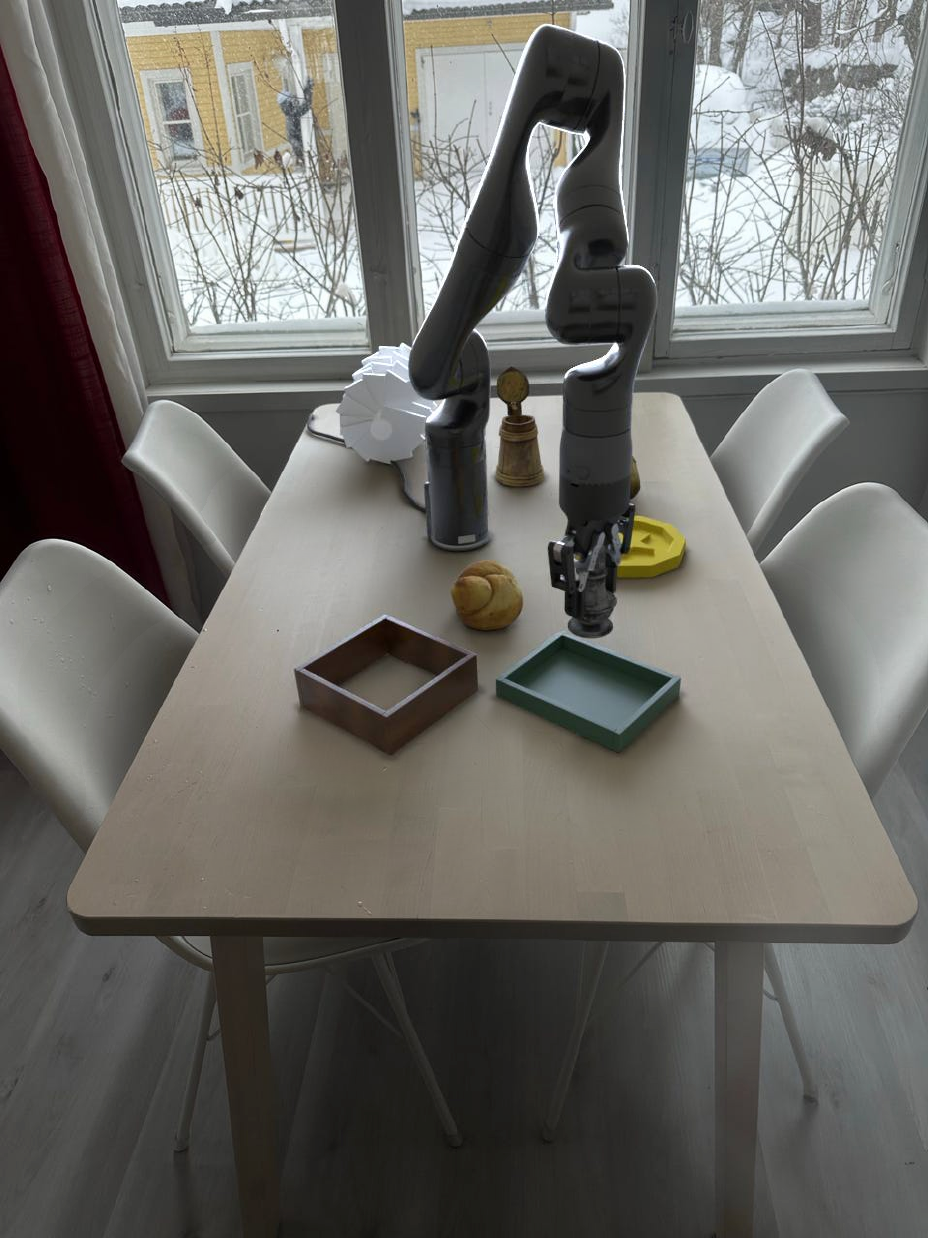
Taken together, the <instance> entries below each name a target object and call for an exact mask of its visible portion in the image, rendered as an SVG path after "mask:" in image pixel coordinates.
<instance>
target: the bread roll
mask: <svg viewBox="0 0 928 1238" xmlns="http://www.w3.org/2000/svg"><path fill="white" fill-rule="evenodd" d="M450 596H451V600H452V603H453V605H454V607H455V611H456V614H457V617H458V618H459V620H461V622H462V623H463V624H464V625H465V626H468V627H470V628H473V629H475V630H478V631H479V630H480V631H482V630H483V631H491V630H499V629H503V628H505V627H508V626H510V625H511V624H513V623H514V621H515V620H516V619H518V618H519V616H520V615H521V613H522V610H523V608H524V607H523V606H524V597H523V594H522V590H521V589H520V587H519V585H518V582H517V580H516V577H515V575H514V574H513V573H512V571H511V570H510V569H509V568H508V567H507V566H504V565H502V563H499V562H498V561H496V560H491V559H490V560H481V561H476V562H473V563H470V564H468V565H467V566H465V568H464V569H463V570H461V572H460V573H459V575H458V576H457V578H456V580H455V581H454V583H453V584H452V586H451V588H450Z"/></svg>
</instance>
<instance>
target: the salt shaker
mask: <svg viewBox="0 0 928 1238" xmlns="http://www.w3.org/2000/svg"><path fill="white" fill-rule="evenodd" d="M605 557H606V548H605V546H604V545H603V546H602V547H601V548H600V549H599V552H598V556H597V560H596V563H595V567H594V570H593V571H591V572H589V574H588V577H587V581H586V584H585V588H584V589H585V615H584V616H583V617H582V618H581V619H576V618H574V617H571V618H570V619H568V622H567V630H568V631H569V632H570V634H571V635H573V636H576V637H578V638H581V639H600V638H603V637H606V636H607V635H609V634H611V632H613V629H614V623H613V621H612V620H611V619H610V617H611V616H612V614H613V612H614V610H615V607H616V606H617V604H618V598H617V596H616V595H615V593H614V594H613V593H612V592H610V591H608V590H606V589H605V576H606V575H607V574H608V569H607V567H605ZM586 560H587V559H586V558H583V557H579V561H581V562H584V563H585V562H586ZM579 572H580V571H579V569H577V568H575V574H576V575H577V577H578V576H579Z"/></svg>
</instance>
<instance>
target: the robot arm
mask: <svg viewBox="0 0 928 1238" xmlns="http://www.w3.org/2000/svg"><path fill="white" fill-rule="evenodd" d="M625 91H626V75H625V66H624V61H623V57H622V55H621V53H620V52H619V50H618V49H617V48H616V47H615V46H613V45H611V44H609V43H608V42H606V41H603V40H600V39H597V38H594V37H591V36H588V35H585V34H582V33H580V32H576V31H574V30H571V29H569V28H568V29H567V28H565V27H561V26H559V25H554V24H550V23H549V24H548V23H543V24H541V25H540V26H538V27H537V28H536V29H535V30H534V31H533V33H532V34H531V35H530V37H529V39H528V41H527V43H526V44H525V47H524V49H523V52H522V54H521V57H520V60H519V63H518V66H517V70H516V72H515V75H514V79H513V82H512V86H511V88H510V91H509V94H508V98H507V102H506V105H505V109H504V111H503V115H502V118H501V122H500V124H499V128H498V131H497V135H496V138H495V142H494V145H493V148H492V151H491V153H490V157H489V160H488V163H487V165H486V167H485V170H484V172H483V175H482V178H481V181H480V183H479V186H478V188H477V190H476V193H475V196H474V198H473V199H472V203H471V205H470V208H469V210H468V213H467V214H466V217H465V220H464V223H463V225H462V227H461V231H460V234H459V235H458V238H457V242H456V245H455V248H454V252H453V255H452V257H451V259H450V262H449V264H448V267H447V269H446V272H445V274H444V277H443V280H442V282H441V284H440V287H439V289H438V292H437V294H436V297H435V299H434V302H433V303H432V306H431V308H430V310H429V312H428V314H427V316H426V317H425V319H424V321H423V323H422V326H421V327H420V329H419V331H418V333H417V334H416V336H415V339H414V341H413V343H412V346H411V347H410V348H411V351H410V355H409V361H408V373H409V379H410V383H411V385H412V387H413V389H414V391H415V392H416V393H417V394H418V395H419V396H420V397H422V398H424V399H427V400H432V401H433V400H434V401H442V402H441V404H440V405H439V406H438V407H437V409H435V411H433V412H434V413H433V414H432V415H430V416H429V418H428V419H427V420H426V423H425V433H424V438H425V440H424V441H425V455H426V468H427V481H426V482H424V484H423V492H424V493H423V494H424V506H423V505H421V504H419V503H418V502H417V501H416V500H415V499H414V498H413V497H412V496H411V495H410V493H409V492H408V481H407V477H406V475H405V472H404V470H403V469H402V467H401V465H399V463H398V462H397V461H392V460H391V461H390V462H391V463H392V464H391V465H393V467H394V468H395V469H396V470H397V472H398V473H399V475H400V477H401V480H402V492H403V496H404V498H405V499H406V500H407V501H408V503H410V504H411V505H412V506H413V507H415V508H416V509H418V510H420V511H422V512H424V513H425V520H426V521H425V523H426V536H427V539H430V540H431V542H432V544H433V545H434V546H436V547H437V548H439V549H442V550H444V551H449V552H466V551H467V552H468V551H472V550H476V549H478V548H481V547H483V546H485V545H486V544H487V543H488V542H489V540H490V537H491V536H490V529H489V528H490V527H489V495H488V492H489V491H488V464H487V461H488V460H487V440H486V439H487V436H486V433H487V432H486V429H487V425H488V422H489V420H490V415H491V379H492V374H491V373H492V369H491V368H492V367H491V359H490V358H491V357H490V353H489V350H488V346H487V343H486V341H485V339H484V337H483V336H482V334H481V333H479V331H478V330H477V329H476V328H477V327H478V326H479V325H480V323H481V322H483V320H484V319H485V318H486V317H487V316H488V315H489V314H490V313H491V312H492V311H493V310H494V309H495V308H496V307H497V306H498V305H499V304H500V303H501V302H502V300H504V298H506V296H507V295H508V294H509V293H510V292H511V290H512V289H513V288H514V287H515V285H516V284H517V282H518V281H519V279H520V278H521V276H522V274H523V272H524V269H525V268H526V265H527V263H528V261H529V259H530V257H531V254H532V253H533V250H534V248H535V245H536V243H537V240H538V236H539V232H540V231H539V230H540V222H539V213H538V206H537V202H536V197H535V193H534V188H533V183H532V177H531V173H530V163H529V161H530V160H529V149H530V148H529V147H530V143H531V140H532V136H533V134H534V131H535V129H536V127H537V126H538V125H539V124H541V125H544V126H547V127H550V128H553V129H557V130H560V131H564V132H566V133H567V132H568V133H570V134H575V135H581V136H583V138H584V140H585V145H584V146H583V148H582V149H581V150H580V151H579V153H578V154H577V155H576V156H575V157H574V158H573V159H572V161H571V162H570V163H569V164H568V165H567V166H566V167H565V169H564V171H563V172H562V174H561V176H560V177H559V180H558V181H557V182H558V183H557V184H556V188H555V191H554V197H553V217H554V229H555V237H556V238H555V239H556V257H555V265H554V268H553V272H552V275H551V278H550V282H549V286H548V289H547V292H546V297H545V303H544V320H545V324H546V327H547V330H548V331H549V334H550V335H551V336H552V337H553V338H554V339H555V340H556V341H557V342H559V343H560V344H562V345H565V346H586V345H588V346H589V345H607V344H608V345H609V344H613V345H612V347H611V348H610V350H609V351H608V352H607V354H606V355H604V356H603V357H600V358H599V359H596V360H593V361H589V362H586V363H583V364H580V365H577V366H575V367H573V368H570V369H569V370H568V371H567V372H566V373H565V374H564V378H563V383H562V419H561V420H562V426H561V435H560V441H559V454H558V455H559V460H558V462H559V467H558V474H559V475H558V505H559V508H560V510H561V512H563V514H564V515H565V517H566V518H567V523H566V528H565V530H564V537H563V538H561V539H560V541H555V540H550V541H549V542H548V544H547V556H548V565H549V567H548V568H549V575H550V586H551V587H552V588H554V589H558V590H561V591H563V592H564V604H563V605H564V609H563V610H564V613H565V615H567V616H569V617H571V618H572V617H574V618H576V619H581V618H582V617H583V616H584V615H585V589H584V588H585V584H586V581H587V577H588V574H589V572H591V571H593V570H594V567H595V563H596V560H597V556H598V552H599V549H600V548H601V547H602V546H603V545H604V546H605V548H606V557H605V567H607V569H608V574H607V575H606V576H605V589H606V590H608V591H610V592H612V593H613V594H614V595H615V593H616V592H617V583H618V578H617V566H618V565H619V564H620V563H621V559H622V557H621V556H622V554H628V553H629V551H630V546H631V539H632V531H633V524H634V517H635V516H636V510H637V509H636V507H637V506H636V504H633V503H630V501H631V500H630V485H631V467H632V455H633V437H632V436H633V435H632V420H633V419H632V417H633V400H634V387H635V383H636V377H637V373H638V370H639V365H640V363H641V358H642V355H643V353H644V349H645V347H646V345H647V341H648V338H649V336H650V333H651V330H652V328H653V324H654V320H655V317H656V314H657V308H658V298H659V297H658V289H657V285H656V282H655V280H654V278H653V276H652V275H651V273H650V272H649V271H648V270H647V269H646V268H644V267H643V266H640V265H633V264H631V265H630V264H629V265H628V264H627V265H621V264H622V263H623V261H624V259H626V256H627V254H628V250H629V232H628V226H627V218H626V212H625V205H624V197H623V190H622V188H623V187H622V153H623V139H624V138H623V137H624V123H625V122H624V120H625V118H624V116H625V94H626V93H625ZM434 401H433V402H434ZM314 419H315V414H314V413H310V414H309V415H308V418H307V421H306V427H307V430H308V432H310V433H311V434H313V435H315V436H318V437H322V438H325V439H329V440H332V441H336V442H339V443H342V444H346V443H345V441H344V438H343V437H342V438H341V437H338V436H335V435H331V434H329V433H324V432H321V431H317V430H315V429H313V428H312V420H314ZM618 533H621V534H623V541H622V542H620V538H619V535H618ZM576 555H577V556H580V557H583V558H586V559H587V560H586V562H585V563H584V562H581V561H578V560H577V559H576V558H575V556H576ZM576 568H577V569H579V571H580V572H579V576H578V575H577V578H576Z"/></svg>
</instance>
